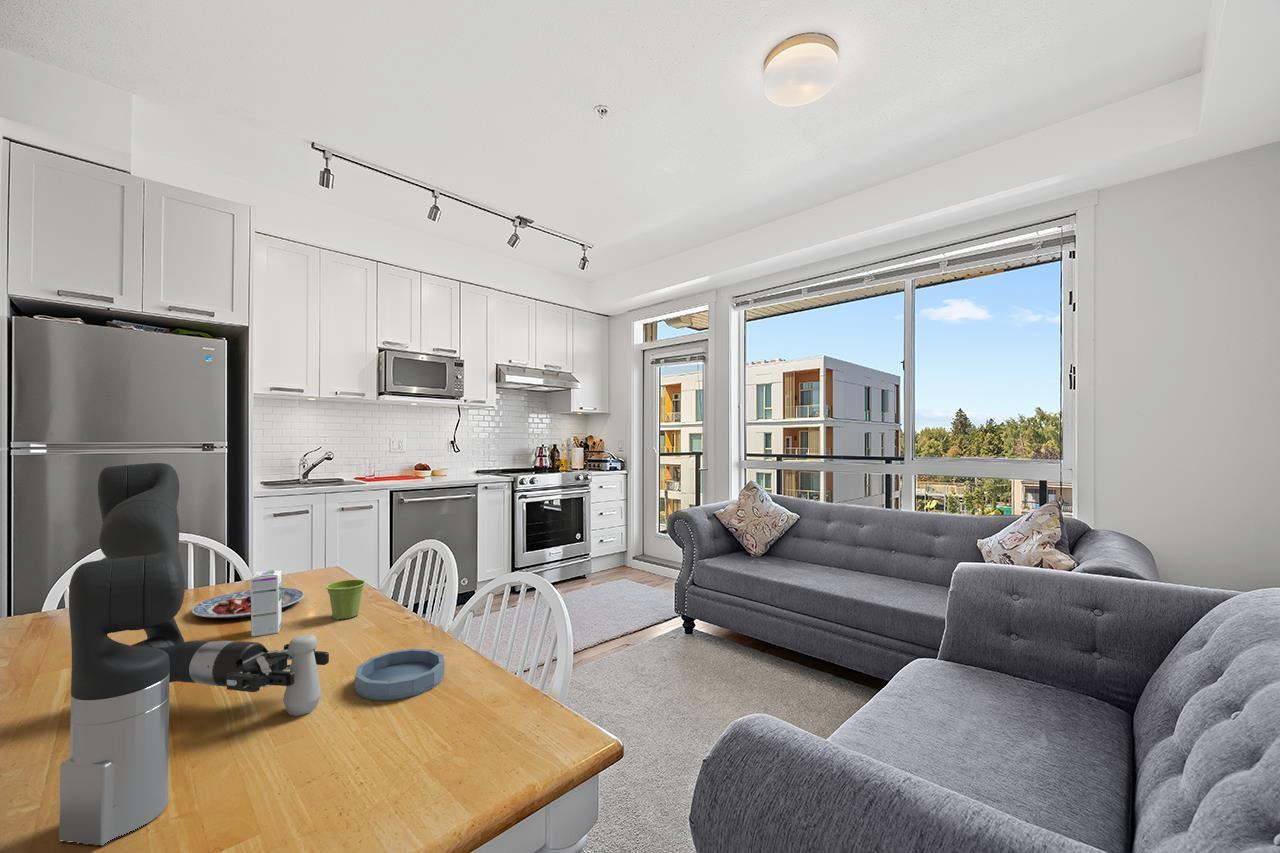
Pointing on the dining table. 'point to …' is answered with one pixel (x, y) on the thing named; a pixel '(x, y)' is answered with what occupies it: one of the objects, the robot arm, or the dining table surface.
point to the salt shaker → (303, 677)
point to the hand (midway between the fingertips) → (311, 668)
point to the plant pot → (345, 598)
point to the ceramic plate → (239, 604)
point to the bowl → (399, 674)
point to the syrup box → (266, 603)
